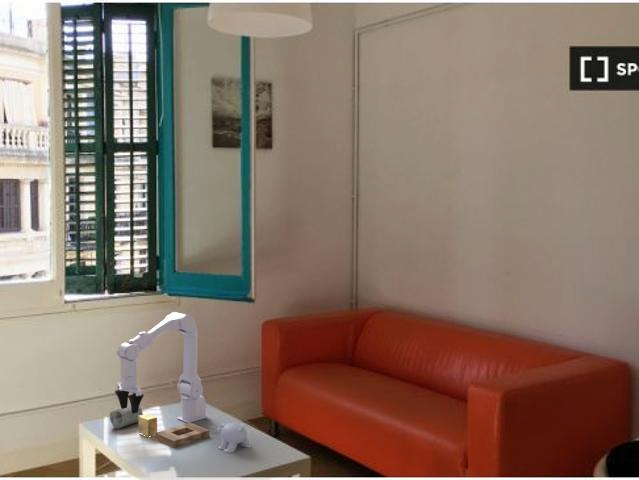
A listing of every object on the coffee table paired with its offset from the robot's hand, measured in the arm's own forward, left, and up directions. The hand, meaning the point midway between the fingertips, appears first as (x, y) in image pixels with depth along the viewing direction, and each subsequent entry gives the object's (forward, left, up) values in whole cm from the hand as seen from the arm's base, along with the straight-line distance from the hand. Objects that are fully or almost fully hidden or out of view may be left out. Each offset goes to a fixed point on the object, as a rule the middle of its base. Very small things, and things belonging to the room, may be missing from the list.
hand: (129, 410), depth 287 cm
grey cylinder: (-6, -12, -10) cm, 17 cm away
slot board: (-13, +15, -10) cm, 23 cm away
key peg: (-6, +3, -10) cm, 12 cm away
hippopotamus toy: (-21, +35, -10) cm, 42 cm away
